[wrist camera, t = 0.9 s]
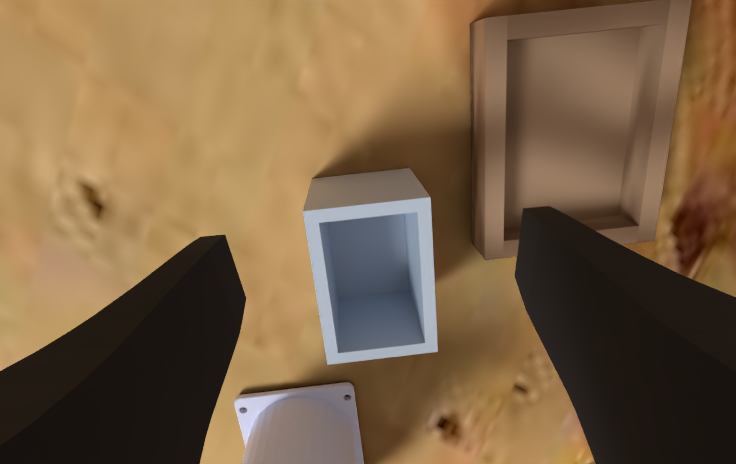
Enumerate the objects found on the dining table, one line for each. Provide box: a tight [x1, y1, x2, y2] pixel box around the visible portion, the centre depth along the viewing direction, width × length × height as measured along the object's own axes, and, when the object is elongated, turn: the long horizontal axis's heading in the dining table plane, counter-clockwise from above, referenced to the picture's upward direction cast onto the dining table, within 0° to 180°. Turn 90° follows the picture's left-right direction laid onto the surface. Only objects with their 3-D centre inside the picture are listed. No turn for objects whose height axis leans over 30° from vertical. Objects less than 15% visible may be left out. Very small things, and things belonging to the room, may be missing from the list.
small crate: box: [303, 168, 438, 365], centre depth 22 cm, size 8×6×6 cm
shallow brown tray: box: [470, 0, 692, 260], centre depth 22 cm, size 12×10×2 cm
